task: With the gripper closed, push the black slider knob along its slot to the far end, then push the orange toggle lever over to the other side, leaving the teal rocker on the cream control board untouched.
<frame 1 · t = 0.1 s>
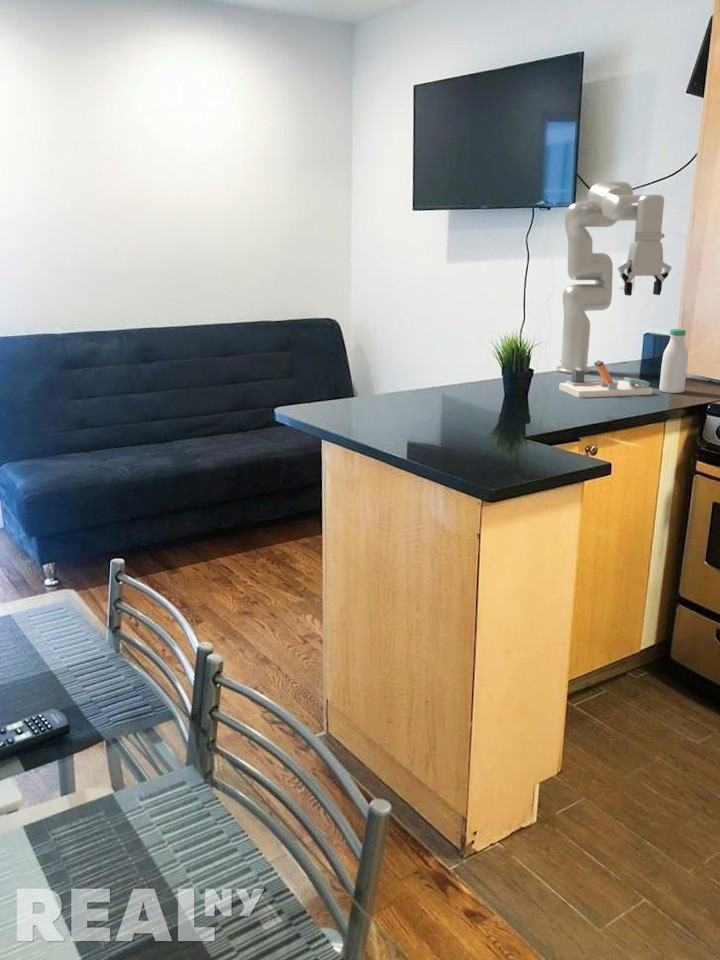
hand: (642, 294, 253), 31 cm above the worktop, fingers open, 9 cm apart
lever: (604, 373, 260), point 7 cm above the worktop, hinge at -32.0°
panel: (604, 391, 266), on the worktop
milk bottle: (671, 392, 266), on the worktop
rocker: (636, 381, 262), point 4 cm above the worktop, hinge at -12.0°
slider: (578, 376, 267), point 5 cm above the worktop, slide at 0.0 cm
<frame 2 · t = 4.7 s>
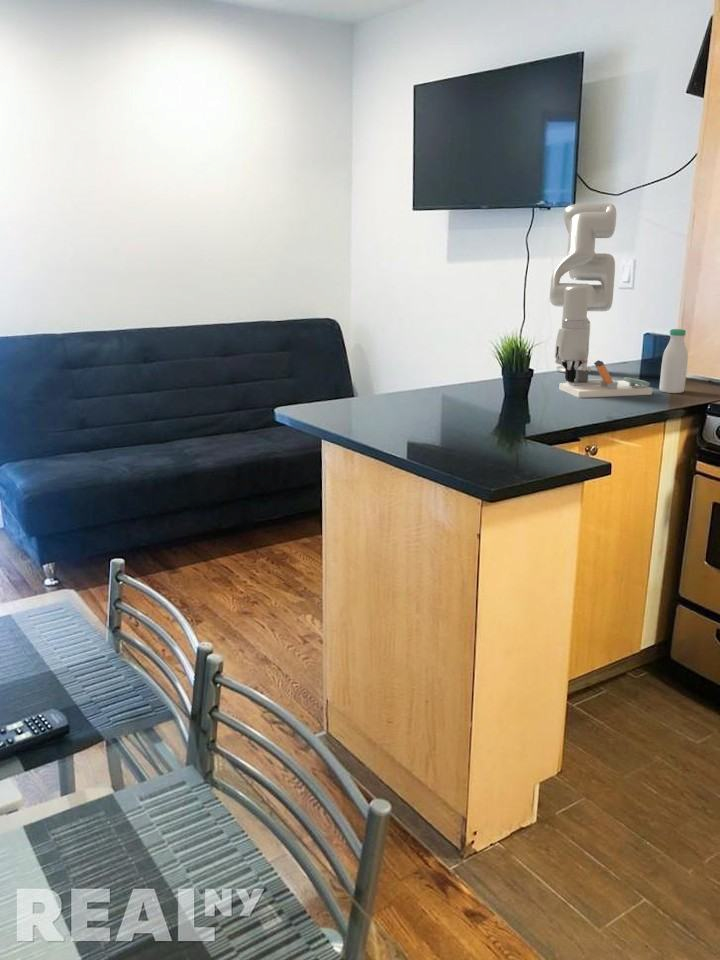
hand: (570, 381, 267), 3 cm above the worktop, fingers closed
slider: (581, 375, 268), point 5 cm above the worktop, slide at 1.3 cm, touching gripper
everything else where it was.
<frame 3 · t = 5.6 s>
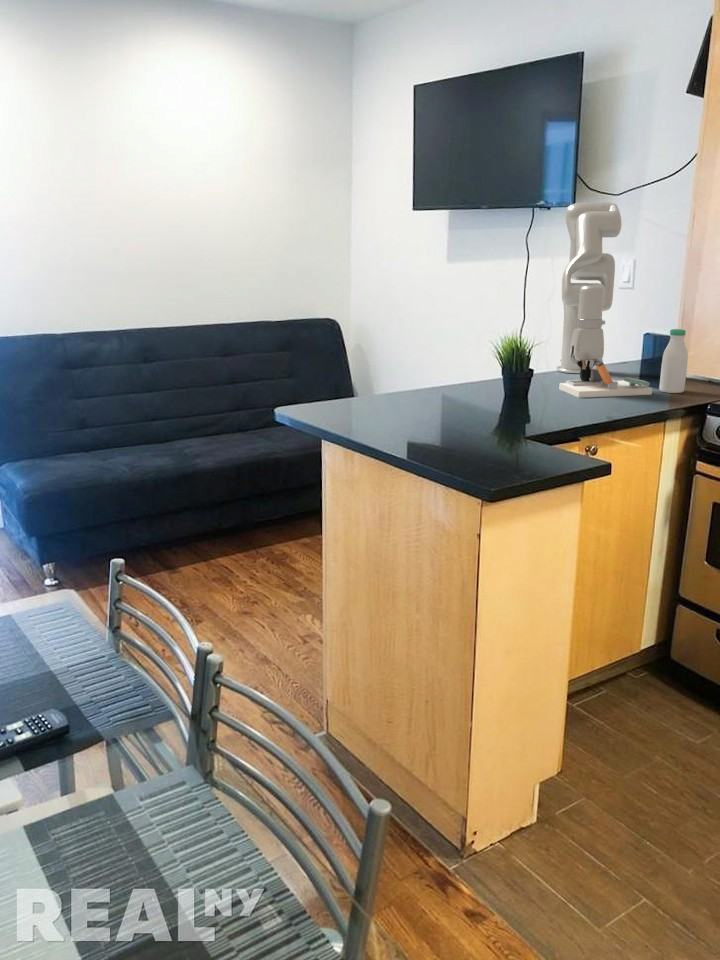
hand: (585, 380, 268), 3 cm above the worktop, fingers closed
slider: (596, 375, 268), point 5 cm above the worktop, slide at 6.6 cm, touching gripper
everything else where it was.
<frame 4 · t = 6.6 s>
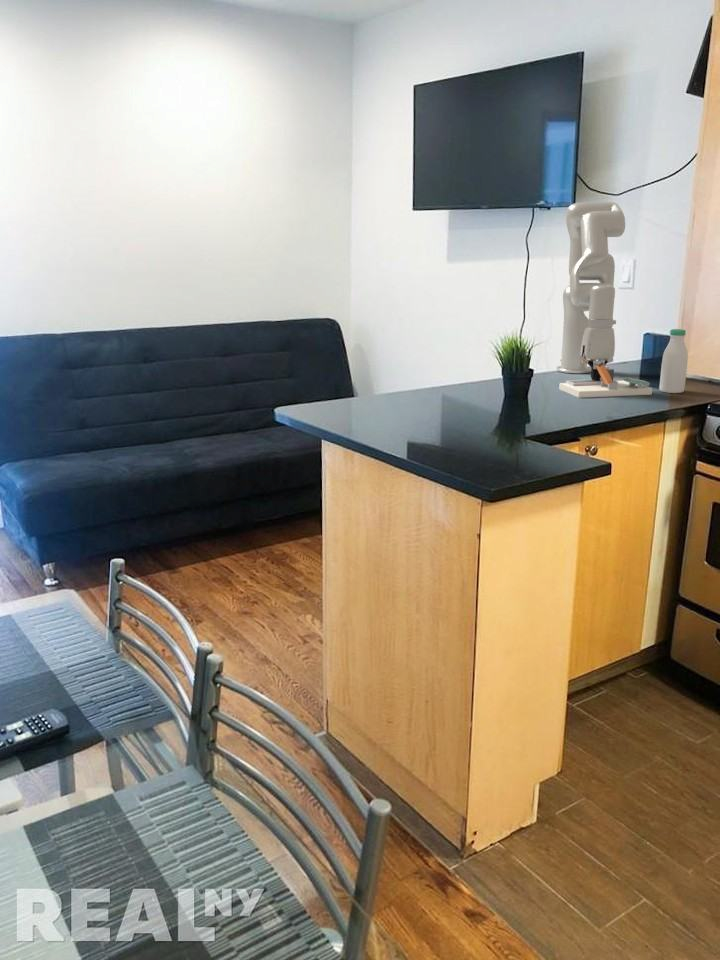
hand: (595, 380, 269), 3 cm above the worktop, fingers closed
slider: (607, 374, 269), point 5 cm above the worktop, slide at 10.3 cm, touching gripper
everything else where it was.
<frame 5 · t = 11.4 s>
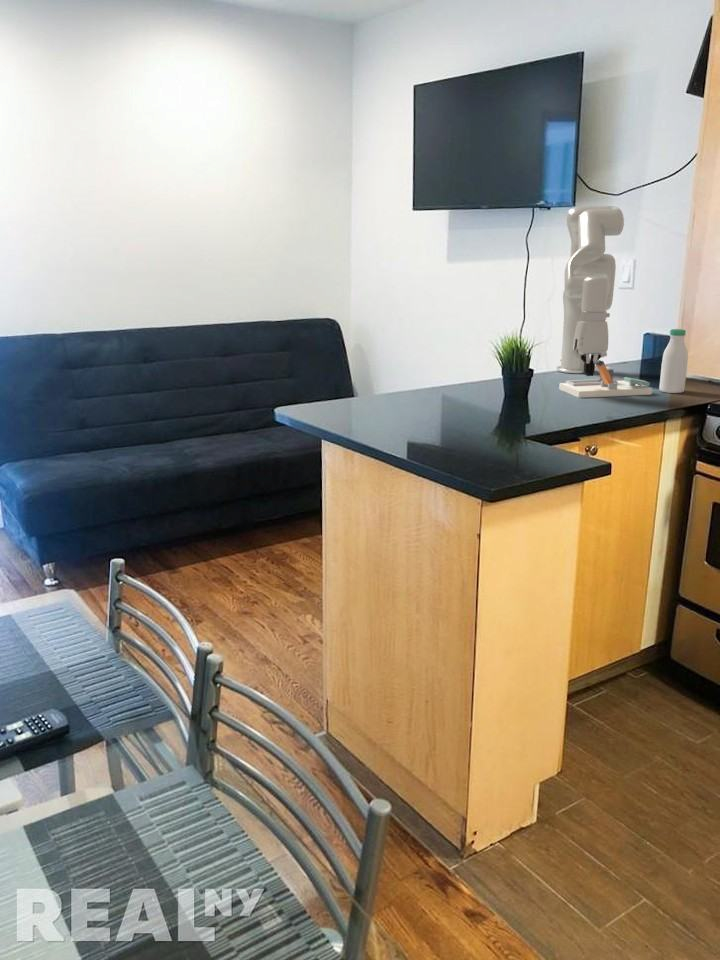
hand: (588, 375, 259), 6 cm above the worktop, fingers closed
lever: (604, 373, 260), point 7 cm above the worktop, hinge at -30.3°, touching gripper
slider: (606, 374, 269), point 5 cm above the worktop, slide at 10.0 cm
everything else where it was.
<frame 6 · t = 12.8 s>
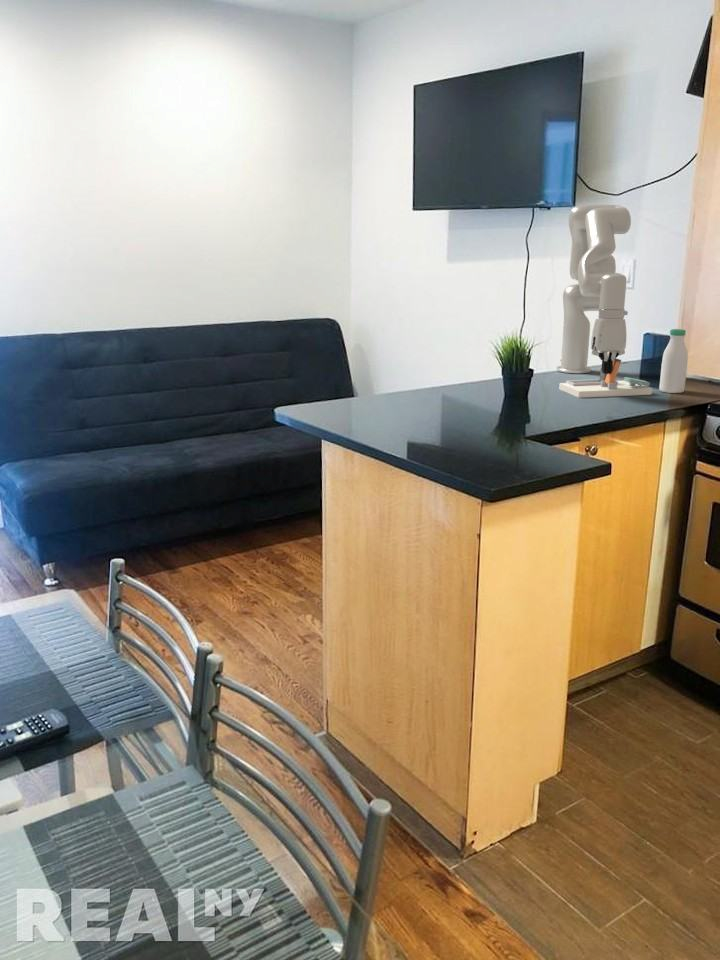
hand: (606, 373, 259), 7 cm above the worktop, fingers closed
lever: (612, 371, 260), point 7 cm above the worktop, hinge at 14.6°, touching gripper
everything else where it was.
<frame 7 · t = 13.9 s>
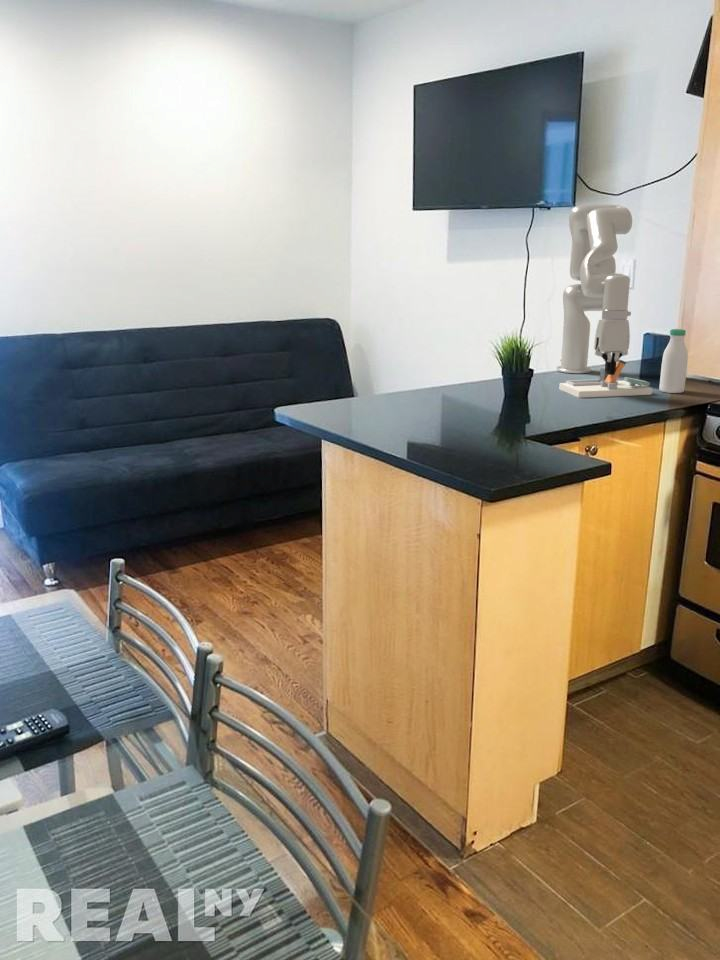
hand: (609, 373, 260), 7 cm above the worktop, fingers closed
lever: (614, 372, 261), point 7 cm above the worktop, hinge at 27.8°, touching gripper
everything else where it was.
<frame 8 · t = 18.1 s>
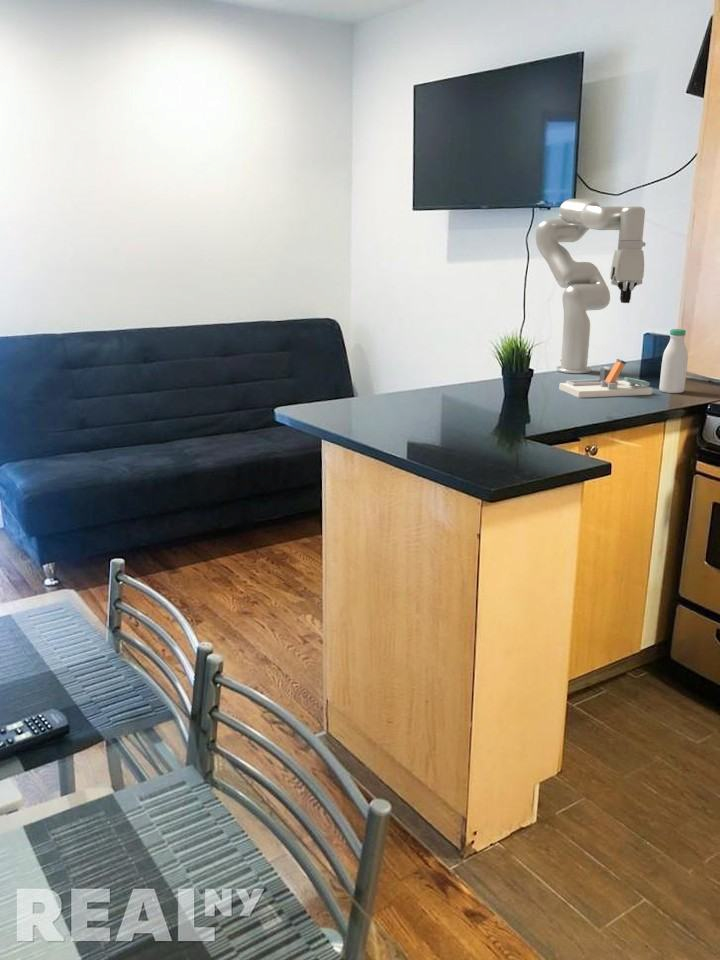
hand: (625, 302, 274), 27 cm above the worktop, fingers closed
lever: (614, 372, 261), point 7 cm above the worktop, hinge at 27.9°
everything else where it was.
at the end: slider slide at 10.0 cm; lever at +28° (first picture: -32°); rocker at -12° (first picture: -12°) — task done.
